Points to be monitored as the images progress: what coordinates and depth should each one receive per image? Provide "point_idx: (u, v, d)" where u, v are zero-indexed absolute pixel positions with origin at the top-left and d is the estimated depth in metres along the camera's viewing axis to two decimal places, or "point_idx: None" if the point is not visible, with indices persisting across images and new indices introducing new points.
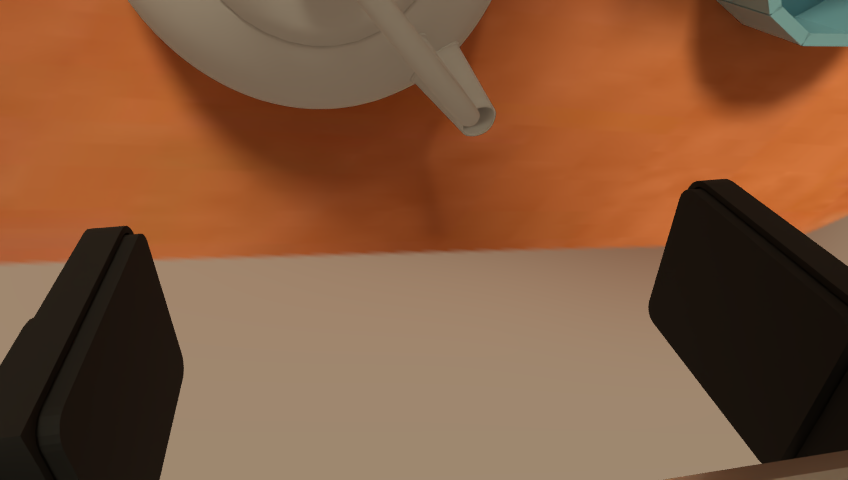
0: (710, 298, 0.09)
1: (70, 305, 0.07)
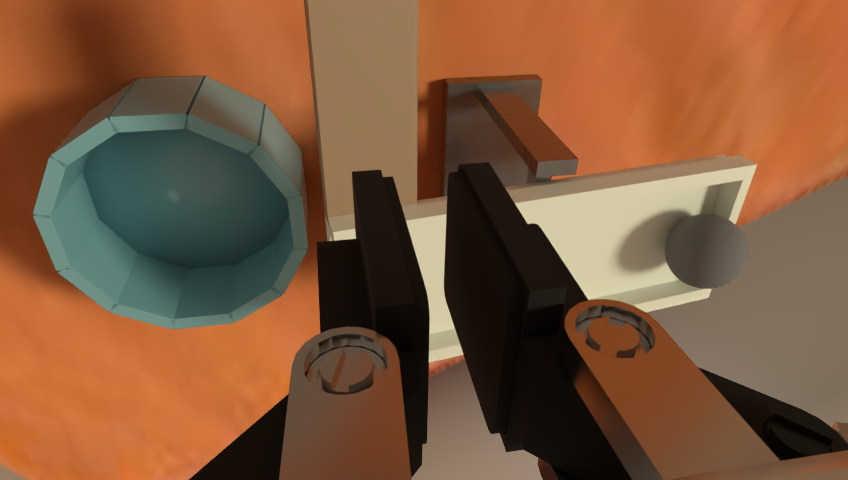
0: (463, 275, 0.10)
1: (384, 222, 0.08)
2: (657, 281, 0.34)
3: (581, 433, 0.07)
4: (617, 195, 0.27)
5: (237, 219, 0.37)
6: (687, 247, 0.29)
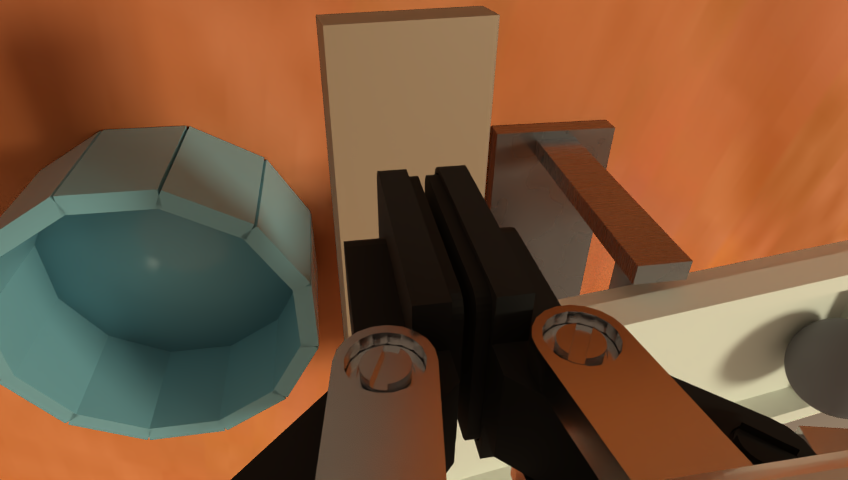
0: None
1: (414, 222, 0.08)
2: (764, 390, 0.26)
3: (553, 443, 0.07)
4: (742, 308, 0.20)
5: (231, 295, 0.30)
6: (826, 369, 0.22)
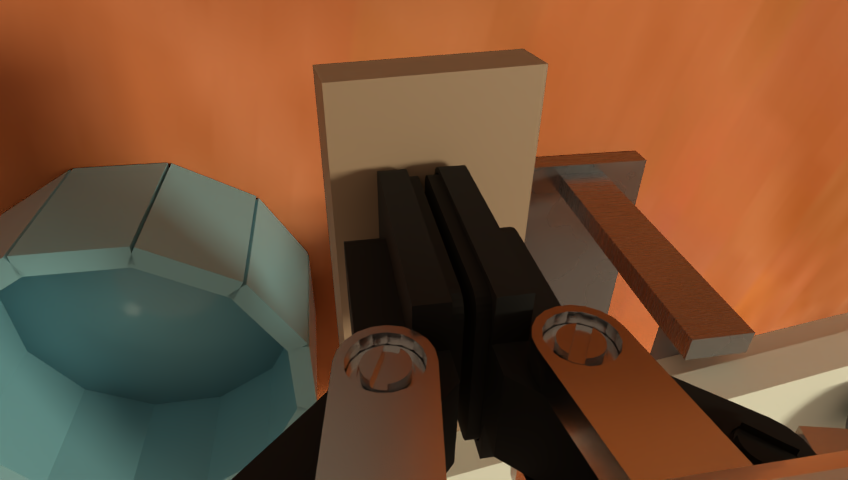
0: None
1: (414, 221, 0.08)
2: None
3: (553, 442, 0.07)
4: (811, 385, 0.17)
5: (220, 344, 0.27)
6: None
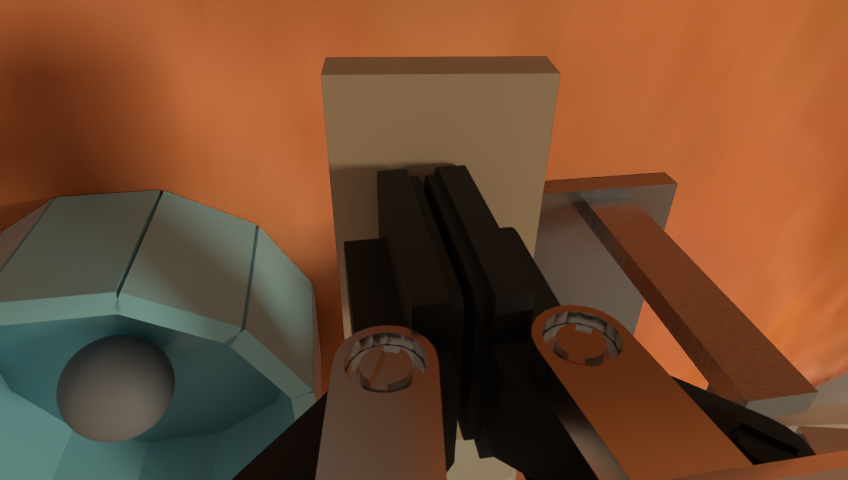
0: None
1: (414, 221, 0.08)
2: None
3: (553, 443, 0.07)
4: None
5: (218, 380, 0.25)
6: None
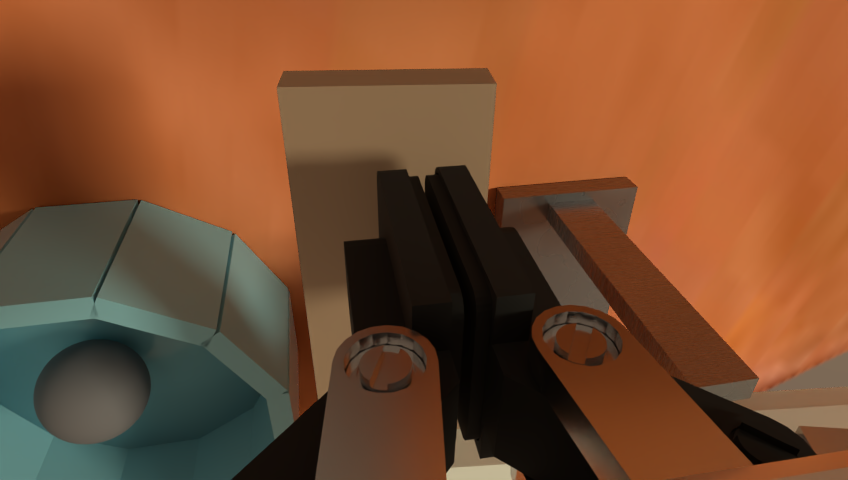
0: None
1: (413, 222, 0.08)
2: None
3: (553, 443, 0.07)
4: None
5: (197, 385, 0.26)
6: None
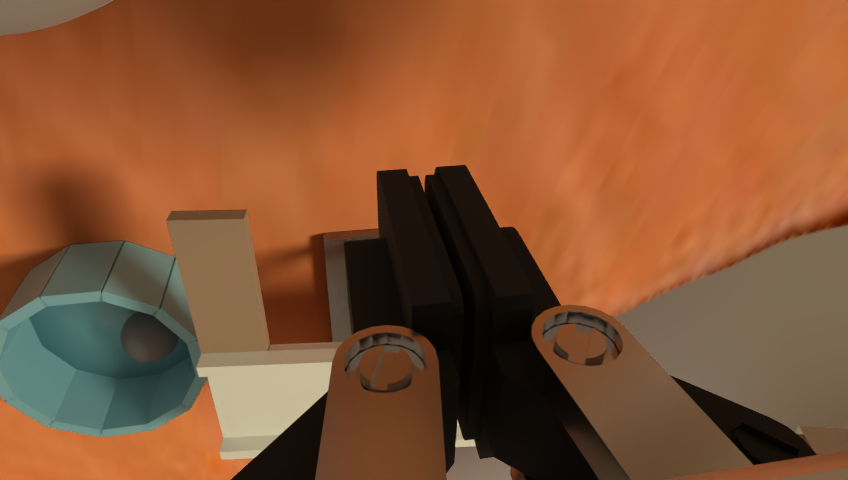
0: None
1: (414, 222, 0.08)
2: None
3: (553, 443, 0.07)
4: None
5: None
6: None
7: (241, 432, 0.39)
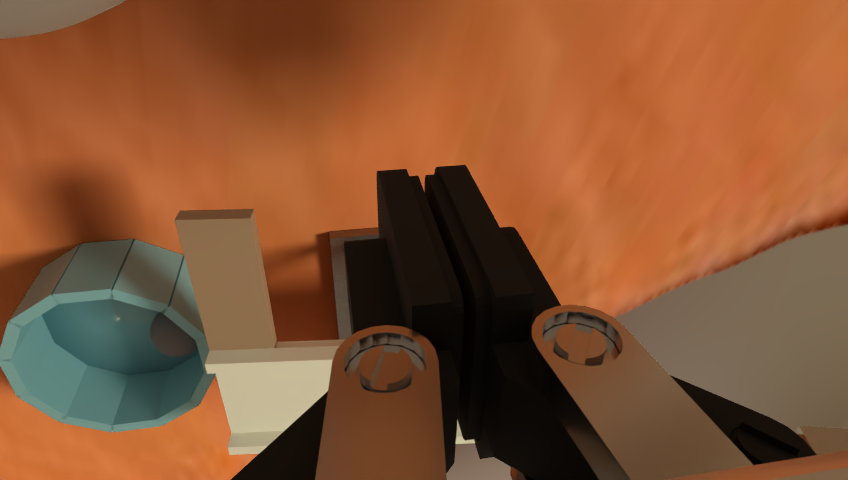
0: None
1: (414, 222, 0.08)
2: None
3: (553, 443, 0.07)
4: None
5: None
6: (151, 325, 0.43)
7: (249, 428, 0.40)
